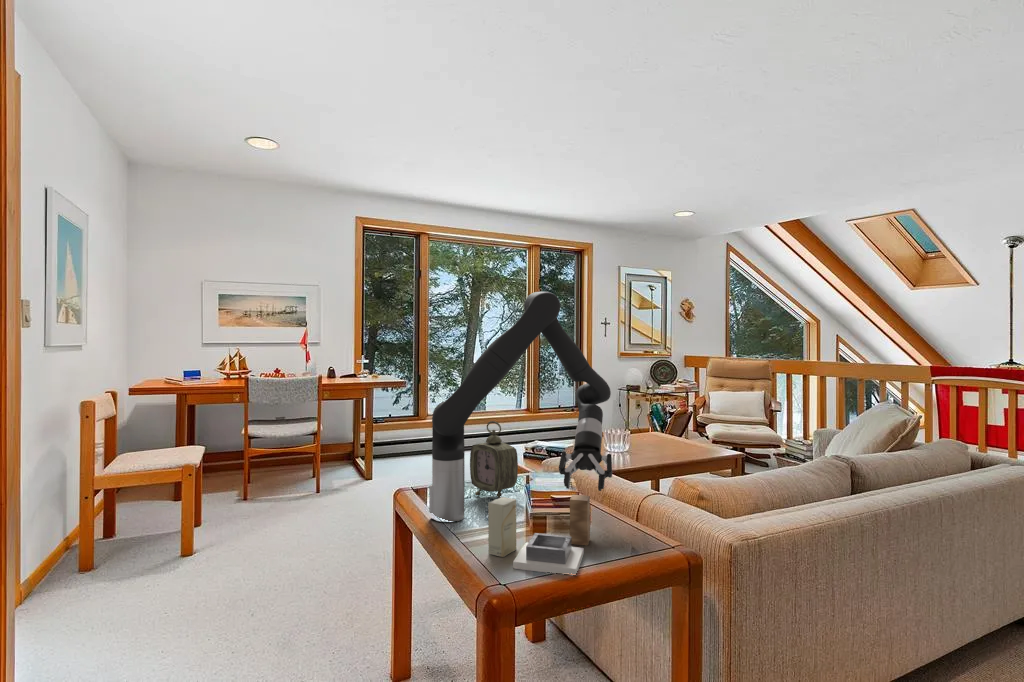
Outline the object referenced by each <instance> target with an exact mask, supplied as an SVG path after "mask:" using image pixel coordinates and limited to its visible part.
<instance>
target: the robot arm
mask: <svg viewBox="0 0 1024 682" xmlns="http://www.w3.org/2000/svg"><path fill="white" fill-rule="evenodd" d="M523 310H524V312H523V314H522V315H521V316H520V318H519V319H517V321H516V322H515V323H514V324H513V325H512V326H511V327H510V328H509V329H507V330H506V331H505V332H503V333H502V334H501V335H499V336H497V338H496V339H495V340H494V341H492V342H491V343H490V344H489V345H488V347H486V349H485V350H484V351H483V352H482V354H481V355H480V356H479V357H478V359H477V360H476V361H475V363H473V366H472V367H471V368H470V370H469V372H468V373H467V375H466V377H465V378H464V380H463V381H462V383H461V385H459V387H458V388H457V389H456V390H455V391H454V392H453V393H452V394H451V395H450V396H449V397H448V398H447V399H446V400H445V401H442V402H440V403H438V404H437V405H436V406H435V408H434V409H433V411H432V415H431V416H432V417H431V423H432V426H431V427H432V428H431V429H432V430H431V431H432V435H431V437H432V440H431V442H432V443H431V454H432V455H431V458H432V459H431V462H432V463H431V464H432V465H431V470H432V471H431V473H432V477H431V478H432V479H431V480H432V481H431V484H430V485H429V490H428V491H429V495H428V496H429V497H428V498H429V499H428V500H429V510H428V511H429V512H430V513H433V514H434V515H435V516H437V517H439V518H442V519H445V520H448V521H457V522H459V521H462V520H464V519H465V512H466V511H465V510H466V509H465V502H466V501H465V495H466V494H465V493H466V492H465V487H466V486H465V453H466V452H465V449H466V448H465V424H466V423H467V421H468V420H469V418H470V417H471V415H472V414H473V412H474V411H475V409H476V408H477V407H478V406H479V405H480V403H481V402H482V401H483V399H484V398H486V397H487V396H488V395H489V394H490V393H491V392H492V391H493V390H494V388H496V387H497V386H498V385H499V383H500V382H501V381H502V380H503V379H504V378H505V377H506V376H507V374H508V373H509V372H510V371H511V370H512V369H513V368H514V366H516V365H515V364H516V363H517V362H518V361H519V360H520V358H521V357H522V356H523V355H524V354H525V353H526V351H527V349H529V347H530V345H531V344H532V343H533V342H534V340H536V338H537V337H538V336H539V335H540V334H542V335H543V336H544V338H545V339H546V340H547V342H548V344H549V345H550V347H551V348H552V350H553V351H554V353H555V355H556V356H557V358H558V360H559V362H560V363H561V365H562V367H563V369H564V370H565V371H566V373H567V374H568V376H569V378H570V379H571V381H573V382H575V383H577V382H579V383H581V382H584V384H581V385H580V386H579V387H577V389H576V391H575V399H576V402H577V408H578V419H577V421H578V422H577V426H576V428H575V429H576V430H575V435H574V436H575V438H574V444H573V445H574V446H573V452H572V453H567V452H566V451H564V450H563V451H562V452H561V455H560V460H559V464H558V472H559V474H560V475H564V477H563V485H564V487H565V489H570V485H571V476H572V475H573V473H576V472H577V471H578V470H579V471H590V472H591V471H592V470H594V472H595V473H596V474H597V475H598V483H597V484H598V485H597V489H598V492H602V490H603V489H605V482H606V481H605V480H606V479H607V478H612V477H613V460H612V459H613V458H612V454H611V453H607V454H606V455H602V441H603V421H604V420H603V419H604V418H603V417H604V413H603V411H604V410H603V409H602V408H601V406H599V404H602V403H605V402H607V401H608V400H609V399H610V398H611V395H612V394H611V393H612V392H611V388H610V386H609V384H608V382H607V381H606V380H605V379H604V378H603V377H602V376H601V375H600V374H598V372H596V370H595V369H593V367H592V366H591V364H589V362H588V360H587V358H586V357H585V355H584V353H583V351H582V350H581V349H580V348H579V346H578V345H577V343H576V342H575V341H574V340H573V339H572V338H571V336H570V335H569V334H568V333H567V332H566V331H565V329H564V328H563V326H562V325H561V322H560V320H559V319H558V316H559V315H560V313H561V301H560V299H559V297H558V296H557V295H556V294H554V293H552V292H549V291H535V292H532V293H531V294H529V295H527V297H526V299H525V300H524V303H523ZM570 460H572V461H571V462H570V463H569V465H568V466H567V467H566V465H567V463H568V462H569V461H570ZM602 461H603V463H604V464H606V470H604V469H603V468H602V466H601V465H600V463H602Z"/></svg>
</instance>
